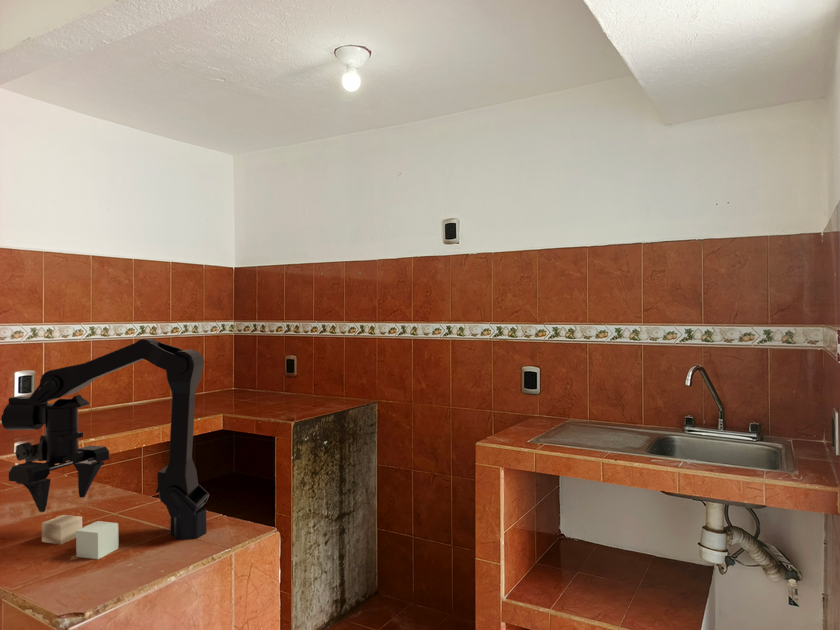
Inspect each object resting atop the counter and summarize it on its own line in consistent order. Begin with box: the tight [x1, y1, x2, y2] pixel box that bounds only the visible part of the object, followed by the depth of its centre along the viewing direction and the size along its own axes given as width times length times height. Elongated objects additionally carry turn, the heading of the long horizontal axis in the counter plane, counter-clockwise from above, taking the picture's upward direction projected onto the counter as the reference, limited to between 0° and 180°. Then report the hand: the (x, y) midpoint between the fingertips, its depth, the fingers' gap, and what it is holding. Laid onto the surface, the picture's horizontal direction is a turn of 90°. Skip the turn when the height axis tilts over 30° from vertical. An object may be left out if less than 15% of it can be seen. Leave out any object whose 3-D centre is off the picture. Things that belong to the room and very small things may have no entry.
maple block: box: [41, 514, 83, 545], centre depth 116 cm, size 5×5×5 cm
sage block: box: [75, 520, 119, 560], centre depth 109 cm, size 5×5×5 cm
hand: (62, 504), depth 116 cm, fingers open, 9 cm apart
